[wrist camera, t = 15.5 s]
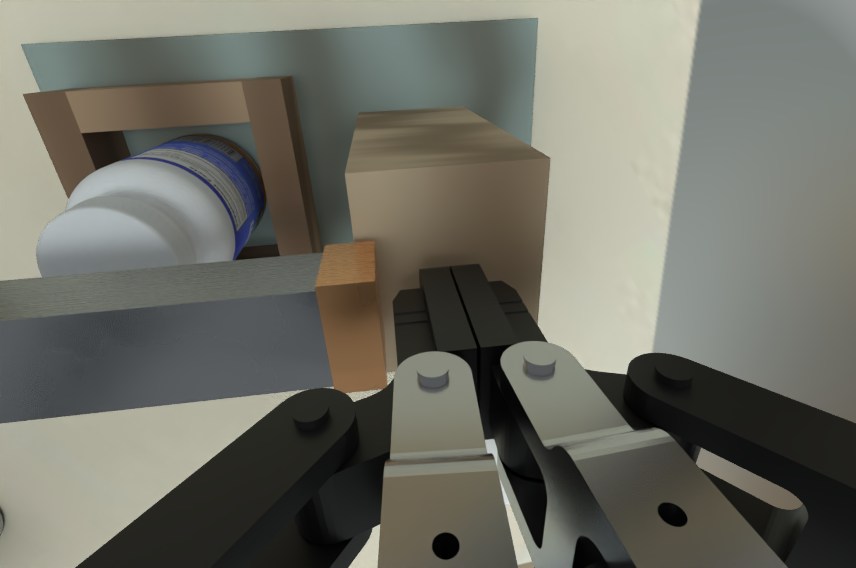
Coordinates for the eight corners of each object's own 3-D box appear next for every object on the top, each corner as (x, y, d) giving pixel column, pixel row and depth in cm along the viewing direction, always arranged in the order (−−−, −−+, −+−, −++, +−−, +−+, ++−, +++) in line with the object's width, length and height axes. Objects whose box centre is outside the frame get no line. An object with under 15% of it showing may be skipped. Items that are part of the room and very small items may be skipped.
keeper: (-40, 379, 11) (-124, 445, 10) (-106, 282, 10) (-219, 337, 8) (385, 334, 12) (387, 388, 10) (374, 240, 11) (374, 281, 9)
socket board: (140, 303, 25) (-49, 509, 14) (36, 44, 19) (-451, 33, 8) (518, 267, 27) (626, 426, 16) (531, 19, 21) (722, -20, 10)
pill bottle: (206, 257, 24) (112, 375, 15) (126, 168, 21) (-42, 247, 13) (292, 206, 23) (244, 299, 14) (218, 107, 20) (108, 148, 12)
